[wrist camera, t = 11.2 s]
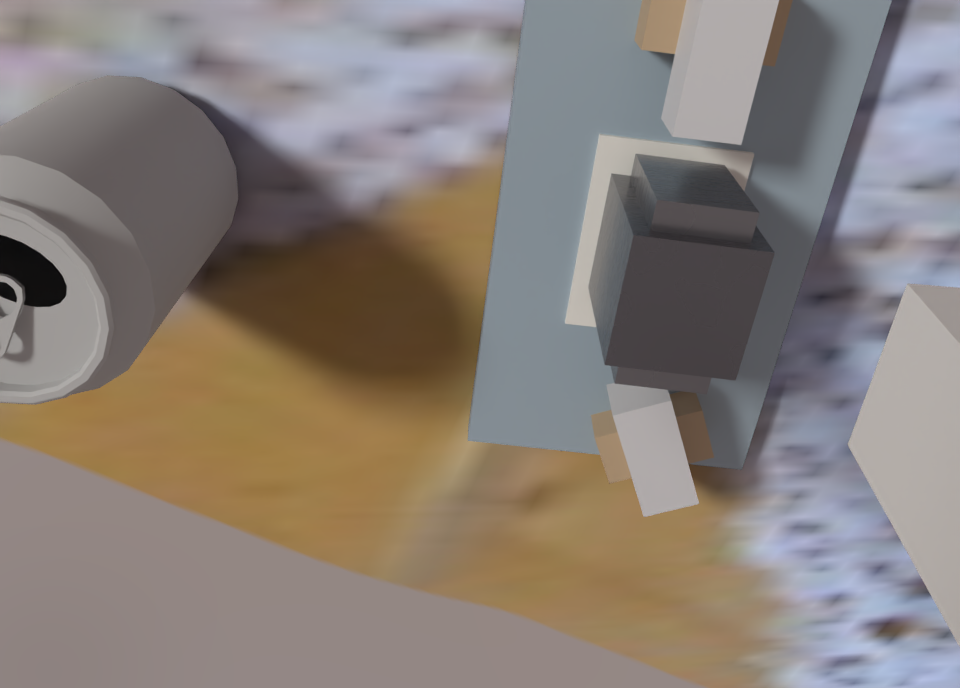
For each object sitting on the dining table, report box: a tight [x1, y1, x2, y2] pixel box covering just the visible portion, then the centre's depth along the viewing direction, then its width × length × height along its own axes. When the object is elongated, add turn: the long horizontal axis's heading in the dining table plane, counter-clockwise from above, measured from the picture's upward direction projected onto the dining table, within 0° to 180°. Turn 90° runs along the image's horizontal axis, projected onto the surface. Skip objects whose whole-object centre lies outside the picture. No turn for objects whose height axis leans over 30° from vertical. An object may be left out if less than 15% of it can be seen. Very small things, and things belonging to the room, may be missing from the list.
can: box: [0, 75, 238, 404], centre depth 29 cm, size 8×8×12 cm
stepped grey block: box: [588, 154, 775, 394], centre depth 31 cm, size 7×4×6 cm
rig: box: [468, 0, 892, 517], centre depth 33 cm, size 20×12×5 cm, turn 173°
